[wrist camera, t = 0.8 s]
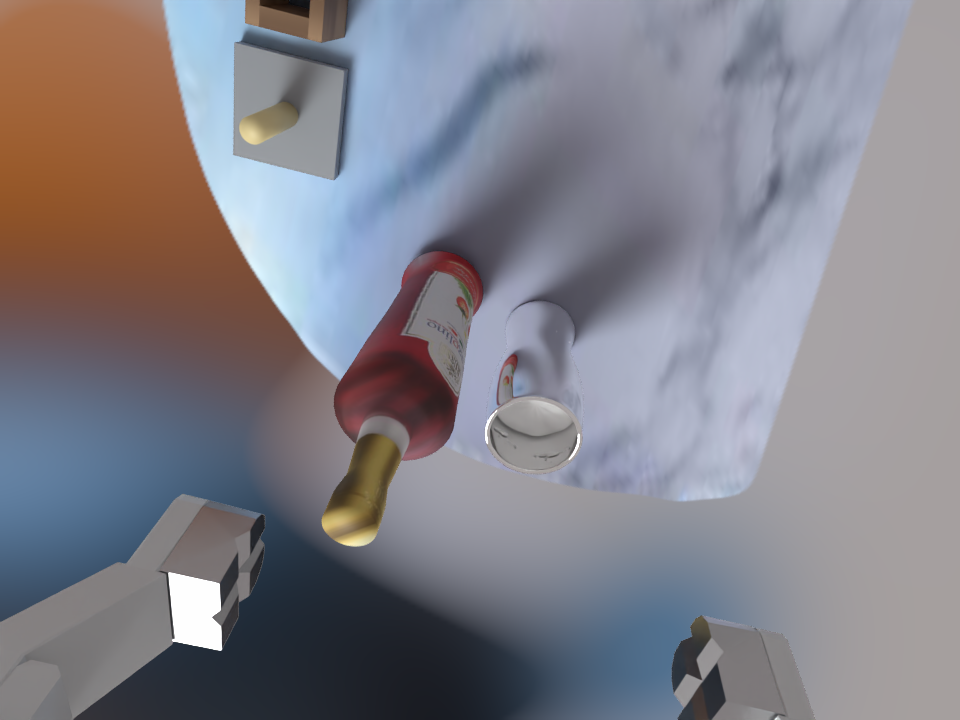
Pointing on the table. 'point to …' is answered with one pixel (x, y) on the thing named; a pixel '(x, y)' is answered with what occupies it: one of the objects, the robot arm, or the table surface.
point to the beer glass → (536, 393)
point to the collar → (300, 18)
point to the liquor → (402, 388)
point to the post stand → (288, 110)
